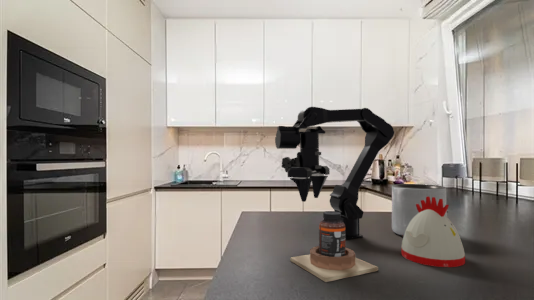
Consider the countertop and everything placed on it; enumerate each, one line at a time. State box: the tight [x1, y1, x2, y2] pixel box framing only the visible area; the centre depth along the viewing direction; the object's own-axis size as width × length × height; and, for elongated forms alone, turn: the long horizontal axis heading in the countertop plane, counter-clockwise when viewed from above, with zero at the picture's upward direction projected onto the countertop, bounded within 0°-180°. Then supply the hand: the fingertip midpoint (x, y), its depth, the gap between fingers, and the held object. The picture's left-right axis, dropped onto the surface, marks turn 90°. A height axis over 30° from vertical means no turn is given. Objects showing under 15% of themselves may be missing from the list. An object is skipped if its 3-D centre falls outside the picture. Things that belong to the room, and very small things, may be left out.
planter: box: [391, 183, 448, 237], centre depth 99 cm, size 16×16×16 cm
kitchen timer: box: [400, 196, 466, 268], centre depth 76 cm, size 14×14×15 cm
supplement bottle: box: [318, 210, 347, 257], centre depth 70 cm, size 6×6×11 cm
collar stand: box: [290, 245, 379, 283], centre depth 70 cm, size 14×14×3 cm
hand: (310, 199), depth 94 cm, fingers open, 9 cm apart
